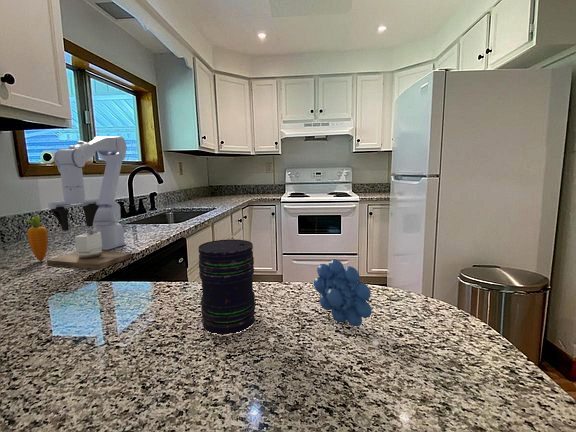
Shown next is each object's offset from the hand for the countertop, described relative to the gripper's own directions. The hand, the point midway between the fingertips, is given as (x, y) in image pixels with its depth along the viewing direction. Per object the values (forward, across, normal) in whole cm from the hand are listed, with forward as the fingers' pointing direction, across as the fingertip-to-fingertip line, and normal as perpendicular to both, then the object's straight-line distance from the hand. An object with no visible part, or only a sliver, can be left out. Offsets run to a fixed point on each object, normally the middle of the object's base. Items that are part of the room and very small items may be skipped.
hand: (78, 228), depth 98 cm
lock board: (+10, 0, -6) cm, 12 cm away
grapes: (+11, -9, -90) cm, 91 cm away
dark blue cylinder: (+11, -16, -71) cm, 74 cm away
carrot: (+10, -7, +10) cm, 16 cm away
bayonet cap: (+9, 0, -6) cm, 10 cm away
